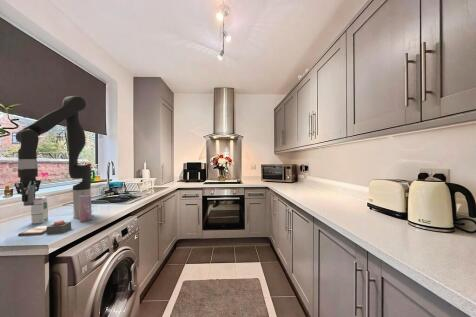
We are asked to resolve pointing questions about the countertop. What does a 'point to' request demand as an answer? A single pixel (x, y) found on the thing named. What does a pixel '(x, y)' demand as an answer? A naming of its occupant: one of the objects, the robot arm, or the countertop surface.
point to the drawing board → (34, 231)
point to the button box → (58, 228)
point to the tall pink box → (85, 208)
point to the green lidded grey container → (30, 196)
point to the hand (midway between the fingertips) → (28, 200)
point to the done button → (58, 223)
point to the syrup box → (39, 210)
